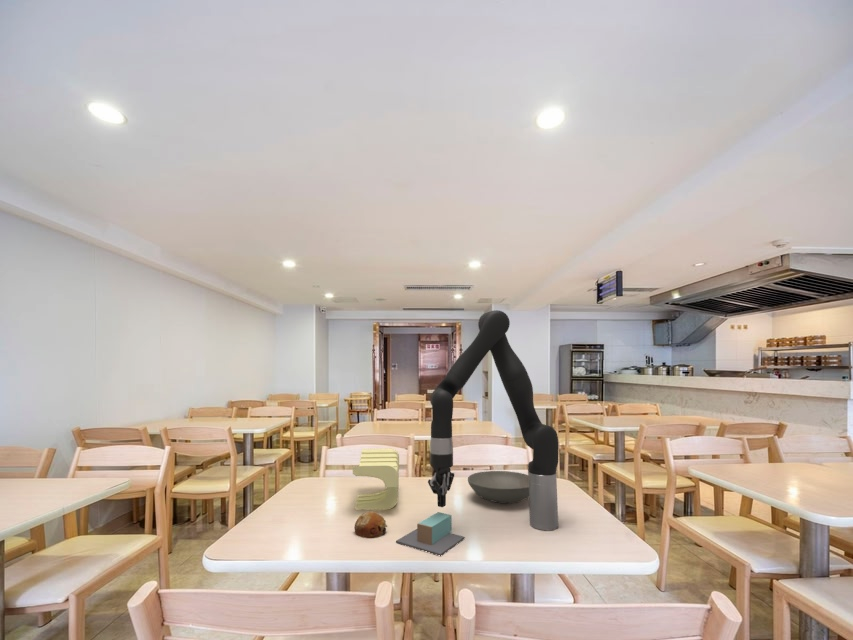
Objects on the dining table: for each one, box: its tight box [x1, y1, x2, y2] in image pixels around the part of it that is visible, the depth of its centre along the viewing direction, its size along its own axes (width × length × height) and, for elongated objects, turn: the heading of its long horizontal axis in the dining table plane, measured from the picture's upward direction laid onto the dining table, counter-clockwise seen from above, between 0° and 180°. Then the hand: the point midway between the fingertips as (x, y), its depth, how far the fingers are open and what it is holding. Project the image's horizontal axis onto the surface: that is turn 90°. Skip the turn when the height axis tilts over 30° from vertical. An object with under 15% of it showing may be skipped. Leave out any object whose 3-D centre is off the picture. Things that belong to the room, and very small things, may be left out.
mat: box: [395, 528, 466, 557], centre depth 125 cm, size 14×16×1 cm
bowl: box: [467, 470, 529, 504], centre depth 163 cm, size 27×28×8 cm
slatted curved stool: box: [352, 448, 400, 510], centre depth 160 cm, size 30×16×18 cm, turn 3°
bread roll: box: [353, 510, 388, 539], centre depth 133 cm, size 10×10×8 cm
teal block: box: [416, 511, 453, 545], centre depth 127 cm, size 5×5×12 cm
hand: (441, 506), depth 132 cm, fingers closed
